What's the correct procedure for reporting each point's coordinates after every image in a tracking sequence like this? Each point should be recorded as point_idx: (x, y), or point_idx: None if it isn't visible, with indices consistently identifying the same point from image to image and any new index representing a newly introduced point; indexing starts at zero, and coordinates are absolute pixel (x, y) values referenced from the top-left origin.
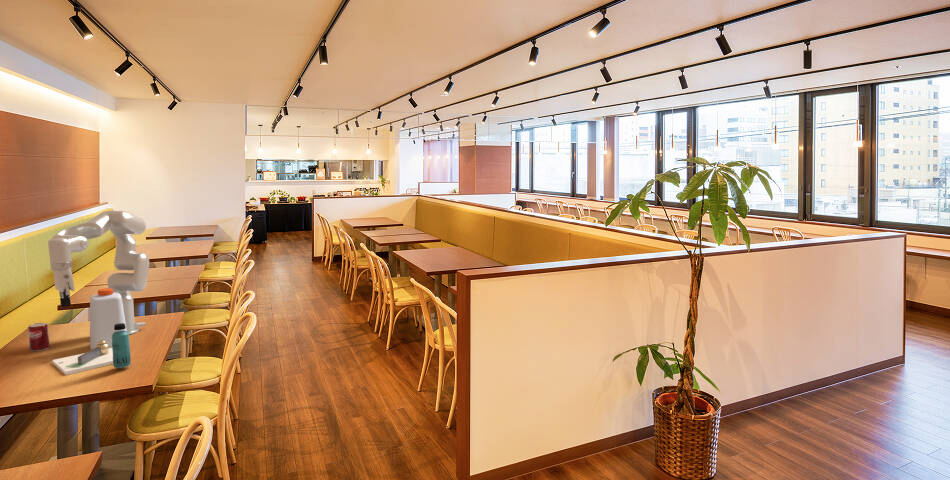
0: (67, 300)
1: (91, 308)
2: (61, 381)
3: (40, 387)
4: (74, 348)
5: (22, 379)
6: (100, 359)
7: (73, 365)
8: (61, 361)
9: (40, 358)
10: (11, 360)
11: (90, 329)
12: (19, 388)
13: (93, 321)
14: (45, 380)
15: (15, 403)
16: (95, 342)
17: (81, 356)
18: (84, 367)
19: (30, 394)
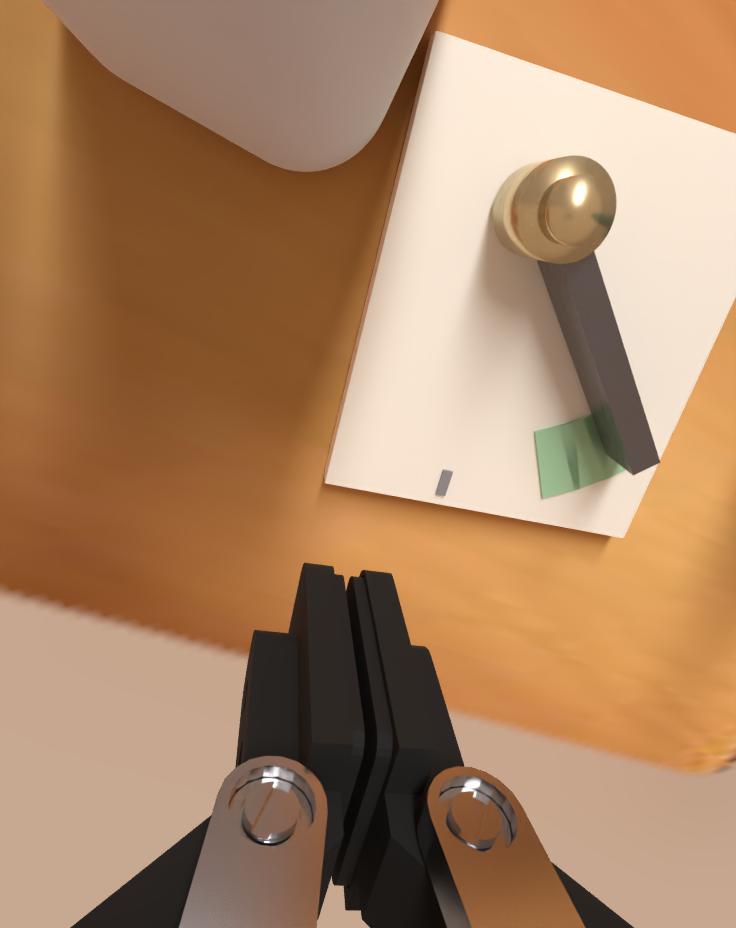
0: (444, 741)
1: (309, 23)
2: (674, 576)
3: (648, 654)
4: (63, 197)
5: (455, 659)
6: (633, 302)
7: (576, 468)
8: (414, 465)
9: (133, 467)
10: (17, 579)
11: (258, 122)
12: (566, 703)
13: (347, 97)
14: (581, 609)
15: (712, 758)
16: (352, 149)
17: (651, 456)
18: (666, 445)
19: (683, 703)
